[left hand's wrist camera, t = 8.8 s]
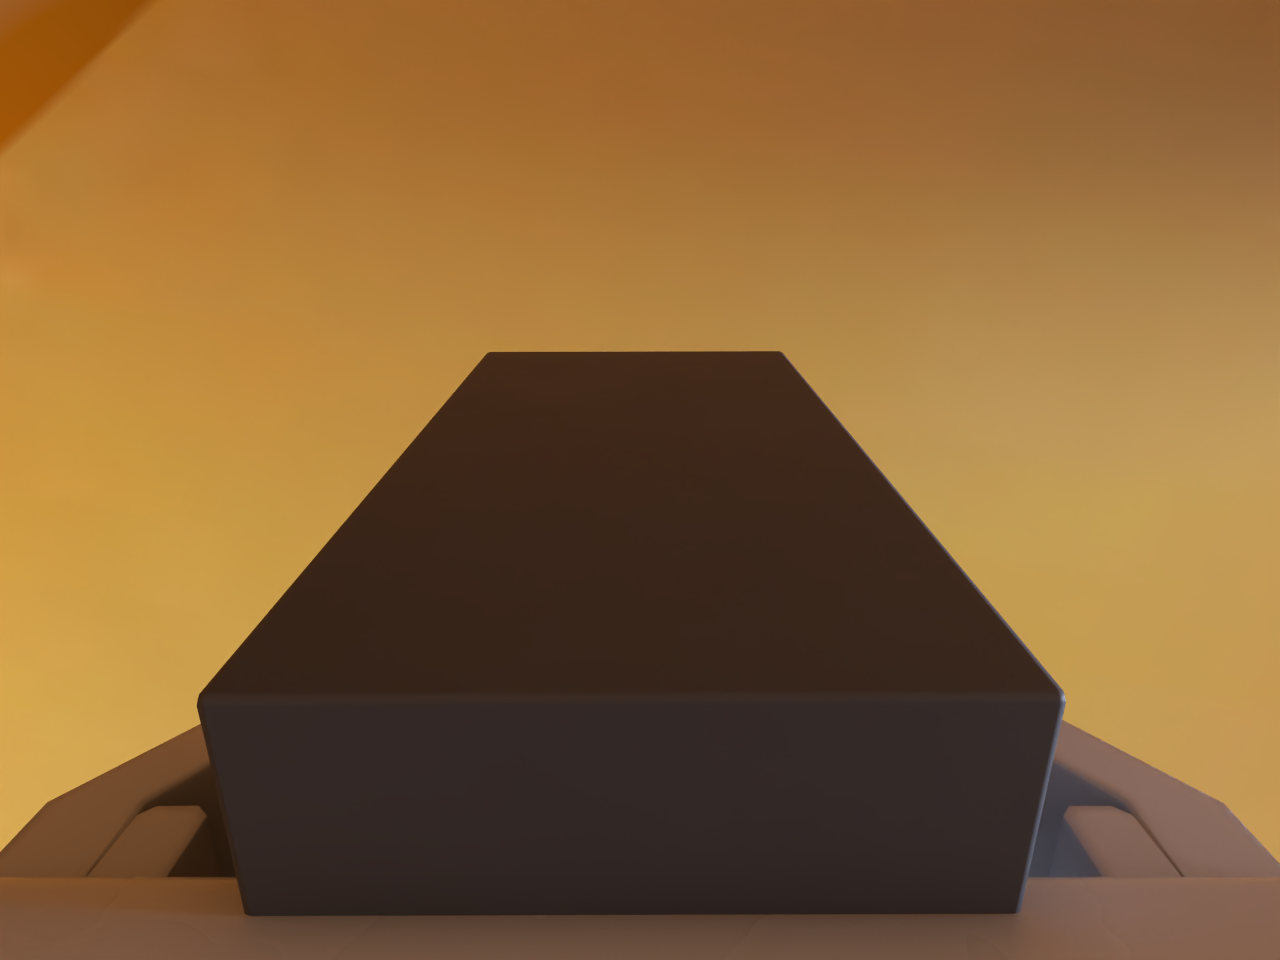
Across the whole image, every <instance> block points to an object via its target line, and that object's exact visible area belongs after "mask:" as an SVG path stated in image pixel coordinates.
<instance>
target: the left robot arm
mask: <svg viewBox="0 0 1280 960" xmlns="http://www.w3.org/2000/svg"><path fill="white" fill-rule="evenodd" d="M0 960H1280V864H1279V862H1278V861H1277V860H1276V859H1275V858H1274V857H1273V856H1272V855H1271V854H1270V853H1269V852H1268V851H1267V850H1266V848H1265V847H1264V846H1263V845H1262V844H1261V843H1260V842H1259V841H1258V840H1257V839H1256V838H1255V837H1254V835H1253V834H1252V833H1251V832H1250V831H1249V830H1248V829H1247V828H1246V827H1245V826H1244V825H1243V824H1242V822H1241V821H1240V820H1239V819H1238V818H1237V817H1236V816H1235V815H1234V814H1233V813H1232V812H1231V811H1230V810H1229V808H1228V807H1227V806H1226V805H1225V804H1224V803H1222V802H1220V801H1218V800H1216V799H1214V798H1212V797H1210V796H1208V795H1206V794H1205V793H1203V792H1201V791H1199V790H1197V789H1195V788H1193V787H1191V786H1189V785H1187V784H1185V783H1183V782H1181V781H1179V780H1177V779H1176V778H1174V777H1172V776H1170V775H1168V774H1166V773H1164V772H1162V771H1160V770H1158V769H1156V768H1154V767H1152V766H1150V765H1148V764H1147V763H1145V762H1143V761H1141V760H1139V759H1137V758H1135V757H1133V756H1131V755H1129V754H1127V753H1125V752H1123V751H1121V750H1120V749H1118V748H1116V747H1114V746H1112V745H1110V744H1108V743H1106V742H1104V741H1102V740H1100V739H1098V738H1096V737H1094V736H1092V735H1091V734H1089V733H1087V732H1085V731H1083V730H1081V729H1079V728H1077V727H1075V726H1073V725H1071V724H1069V723H1067V722H1065V721H1064V720H1062V722H1061V726H1060V731H1059V736H1058V740H1057V745H1056V749H1055V754H1054V759H1053V763H1052V768H1051V772H1050V777H1049V782H1048V786H1047V791H1046V795H1045V800H1044V805H1043V809H1042V814H1041V818H1040V823H1039V828H1038V832H1037V837H1036V841H1035V846H1034V851H1033V855H1032V860H1031V865H1030V869H1029V874H1028V878H1027V883H1026V888H1025V892H1024V897H1023V901H1022V906H1021V911H1020V912H1018V913H1015V914H757V915H433V916H249V915H246V914H245V913H244V908H243V904H242V900H241V895H240V891H239V887H238V882H237V878H236V874H235V869H234V865H233V861H232V856H231V852H230V848H229V843H228V839H227V835H226V830H225V826H224V822H223V817H222V813H221V808H220V804H219V800H218V795H217V791H216V787H215V782H214V778H213V774H212V769H211V765H210V761H209V756H208V752H207V748H206V743H205V739H204V735H203V730H202V726H201V724H200V725H198V726H196V727H194V728H192V729H190V730H188V731H186V732H184V733H182V734H180V735H178V736H176V737H174V738H172V739H170V740H168V741H167V742H165V743H163V744H161V745H159V746H157V747H155V748H153V749H151V750H149V751H147V752H145V753H143V754H141V755H139V756H137V757H135V758H133V759H131V760H129V761H127V762H125V763H123V764H122V765H120V766H118V767H116V768H114V769H112V770H110V771H108V772H106V773H104V774H102V775H100V776H98V777H96V778H94V779H92V780H90V781H88V782H86V783H84V784H82V785H80V786H79V787H77V788H75V789H73V790H71V791H69V792H67V793H65V794H63V795H61V796H59V797H57V798H55V799H53V800H51V801H49V802H47V803H46V804H45V805H44V807H43V808H42V809H41V810H40V811H39V812H38V813H37V814H36V815H35V816H34V817H33V818H32V819H31V820H30V821H29V822H28V823H27V824H26V826H25V827H24V828H23V829H22V830H21V831H20V832H19V833H18V834H17V835H16V836H15V837H14V838H13V839H12V840H11V841H10V842H9V843H8V845H7V846H6V847H5V848H4V849H3V850H2V851H1V852H0Z"/></svg>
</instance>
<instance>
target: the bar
mask: <svg viewBox="0 0 1280 960" xmlns="http://www.w3.org/2000/svg"><path fill="white" fill-rule="evenodd" d="M1065 703H1066V701H1065V696H1064V692H1063V690H1062V689H1061V688H1060V686H1059V685H1058V684H1057V683H1056V682H1055V680H1054V679H1053V678H1052V677H1051V676H1050V674H1049V673H1048V672H1047V671H1046V670H1045V668H1044V667H1043V666H1042V665H1041V664H1040V662H1039V661H1038V660H1037V659H1036V658H1035V656H1034V655H1033V654H1032V653H1031V652H1030V650H1029V649H1028V648H1027V647H1026V646H1025V644H1024V643H1023V642H1022V641H1021V639H1020V638H1019V637H1018V636H1017V635H1016V633H1015V632H1014V631H1013V630H1012V629H1011V627H1010V626H1009V625H1008V624H1007V623H1006V621H1005V620H1004V619H1003V618H1002V617H1001V615H1000V614H999V613H998V612H997V611H996V609H995V608H994V607H993V606H992V605H991V603H990V602H989V601H988V600H987V599H986V597H985V596H984V595H983V594H982V593H981V591H980V590H979V589H978V588H977V586H976V585H975V584H974V583H973V582H972V580H971V579H970V578H969V577H968V576H967V574H966V573H965V572H964V571H963V570H962V568H961V567H960V566H959V565H958V564H957V562H956V561H955V560H954V559H953V558H952V556H951V555H950V554H949V553H948V552H947V550H946V549H945V548H944V547H943V546H942V544H941V543H940V542H939V541H938V540H937V538H936V537H935V536H934V535H933V533H932V532H931V531H930V530H929V529H928V527H927V526H926V525H925V524H924V523H923V521H922V520H921V519H920V518H919V517H918V515H917V514H916V513H915V512H914V511H913V509H912V508H911V507H910V506H909V505H908V503H907V502H906V501H905V500H904V499H903V497H902V496H901V495H900V494H899V493H898V491H897V490H896V489H895V488H894V487H893V485H892V484H891V483H890V482H889V480H888V479H887V478H886V477H885V476H884V474H883V473H882V472H881V471H880V470H879V468H878V467H877V466H876V465H875V464H874V462H873V461H872V460H871V459H870V458H869V456H868V455H867V454H866V453H865V452H864V450H863V449H862V448H861V447H860V446H859V444H858V443H857V442H856V441H855V440H854V438H853V437H852V436H851V435H850V434H849V432H848V431H847V430H846V429H845V428H844V426H843V425H842V424H841V423H840V421H839V420H838V419H837V418H836V417H835V415H834V414H833V413H832V412H831V411H830V409H829V408H828V407H827V406H826V405H825V403H824V402H823V401H822V400H821V399H820V397H819V396H818V395H817V394H816V393H815V391H814V390H813V389H812V388H811V387H810V385H809V384H808V383H807V382H806V381H805V379H804V378H803V377H802V376H801V375H800V373H799V372H798V371H797V370H796V368H795V367H794V366H793V365H792V364H791V362H790V361H789V360H788V359H787V358H786V356H785V355H784V354H783V353H782V352H780V351H746V352H489V353H487V354H486V355H485V357H484V358H483V359H482V360H481V361H480V362H479V364H478V365H477V366H476V367H475V368H474V370H473V371H472V372H471V373H470V374H469V375H468V377H467V378H466V379H465V380H464V381H463V383H462V384H461V385H460V386H459V387H458V389H457V390H456V391H455V392H454V393H453V394H452V396H451V397H450V398H449V399H448V400H447V402H446V403H445V404H444V405H443V406H442V407H441V409H440V410H439V411H438V412H437V413H436V415H435V416H434V417H433V418H432V419H431V420H430V422H429V423H428V424H427V425H426V426H425V428H424V429H423V430H422V431H421V432H420V434H419V435H418V436H417V437H416V438H415V439H414V441H413V442H412V443H411V444H410V445H409V447H408V448H407V449H406V450H405V451H404V452H403V454H402V455H401V456H400V457H399V458H398V460H397V461H396V462H395V463H394V464H393V465H392V467H391V468H390V469H389V470H388V471H387V473H386V474H385V475H384V476H383V477H382V479H381V480H380V481H379V482H378V483H377V484H376V486H375V487H374V488H373V489H372V490H371V492H370V493H369V494H368V495H367V496H366V497H365V499H364V500H363V501H362V502H361V503H360V505H359V506H358V507H357V508H356V509H355V510H354V512H353V513H352V514H351V515H350V516H349V518H348V519H347V520H346V521H345V522H344V524H343V525H342V526H341V527H340V528H339V529H338V531H337V532H336V533H335V534H334V535H333V537H332V538H331V539H330V540H329V541H328V542H327V544H326V545H325V546H324V547H323V548H322V550H321V551H320V552H319V553H318V554H317V556H316V557H315V558H314V559H313V560H312V561H311V563H310V564H309V565H308V566H307V567H306V569H305V570H304V571H303V572H302V573H301V574H300V576H299V577H298V578H297V579H296V580H295V582H294V583H293V584H292V585H291V586H290V587H289V589H288V590H287V591H286V592H285V593H284V595H283V596H282V597H281V598H280V599H279V601H278V602H277V603H276V604H275V605H274V606H273V608H272V609H271V610H270V611H269V612H268V614H267V615H266V616H265V617H264V618H263V619H262V621H261V622H260V623H259V624H258V625H257V627H256V628H255V629H254V630H253V631H252V632H251V634H250V635H249V636H248V637H247V638H246V640H245V641H244V642H243V643H242V644H241V646H240V647H239V648H238V649H237V650H236V651H235V653H234V654H233V655H232V656H231V657H230V659H229V660H228V661H227V662H226V663H225V664H224V666H223V667H222V668H221V669H220V670H219V672H218V673H217V674H216V675H215V676H214V677H213V679H212V680H211V681H210V682H209V683H208V685H207V686H206V687H205V688H204V689H203V691H202V692H201V693H200V694H199V697H198V702H197V709H198V713H199V717H200V722H201V726H202V730H203V735H204V739H205V743H206V748H207V752H208V756H209V761H210V765H211V769H212V774H213V778H214V782H215V787H216V791H217V795H218V800H219V804H220V808H221V813H222V817H223V822H224V826H225V830H226V835H227V839H228V843H229V848H230V852H231V856H232V861H233V865H234V869H235V874H236V878H237V882H238V887H239V891H240V895H241V900H242V904H243V908H244V913H245V914H246V915H249V916H433V915H757V914H1015V913H1018V912H1020V911H1021V906H1022V901H1023V897H1024V892H1025V888H1026V883H1027V878H1028V874H1029V869H1030V865H1031V860H1032V855H1033V851H1034V846H1035V841H1036V837H1037V832H1038V828H1039V823H1040V818H1041V814H1042V809H1043V805H1044V800H1045V795H1046V791H1047V786H1048V782H1049V777H1050V772H1051V768H1052V763H1053V759H1054V754H1055V749H1056V745H1057V740H1058V736H1059V731H1060V726H1061V722H1062V717H1063V713H1064V708H1065Z"/></svg>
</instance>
